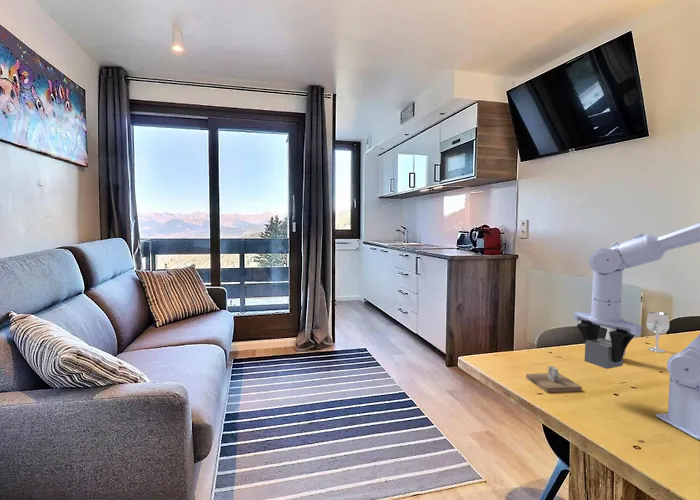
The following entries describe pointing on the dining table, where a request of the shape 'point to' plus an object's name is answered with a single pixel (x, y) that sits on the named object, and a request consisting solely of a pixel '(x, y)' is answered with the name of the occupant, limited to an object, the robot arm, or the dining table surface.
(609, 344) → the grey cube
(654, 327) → the wineglass
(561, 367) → the dining table surface
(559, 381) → the base
